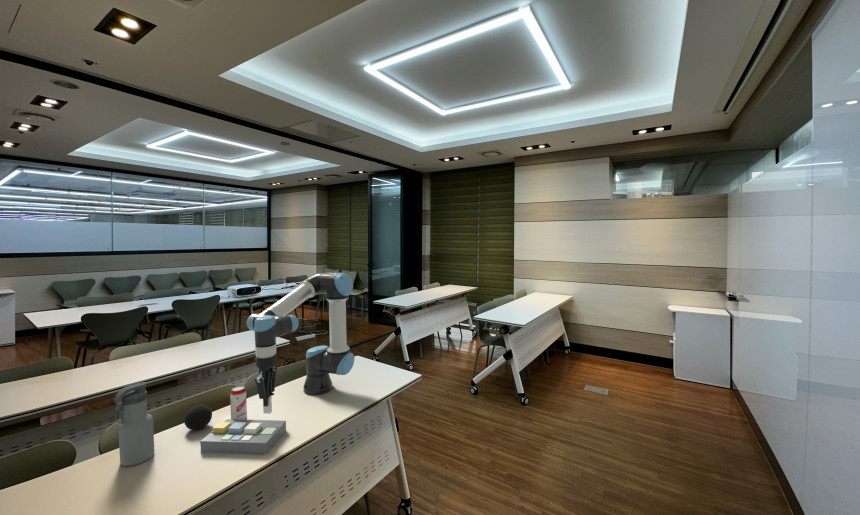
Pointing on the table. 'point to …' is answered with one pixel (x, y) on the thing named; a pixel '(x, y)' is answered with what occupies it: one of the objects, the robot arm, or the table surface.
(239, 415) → the beer can
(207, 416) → the speaker
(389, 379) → the table surface
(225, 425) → the key mustard
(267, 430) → the key sage
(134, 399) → the water bottle
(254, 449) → the keypad
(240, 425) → the key slate
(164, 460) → the table surface
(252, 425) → the key ivory
